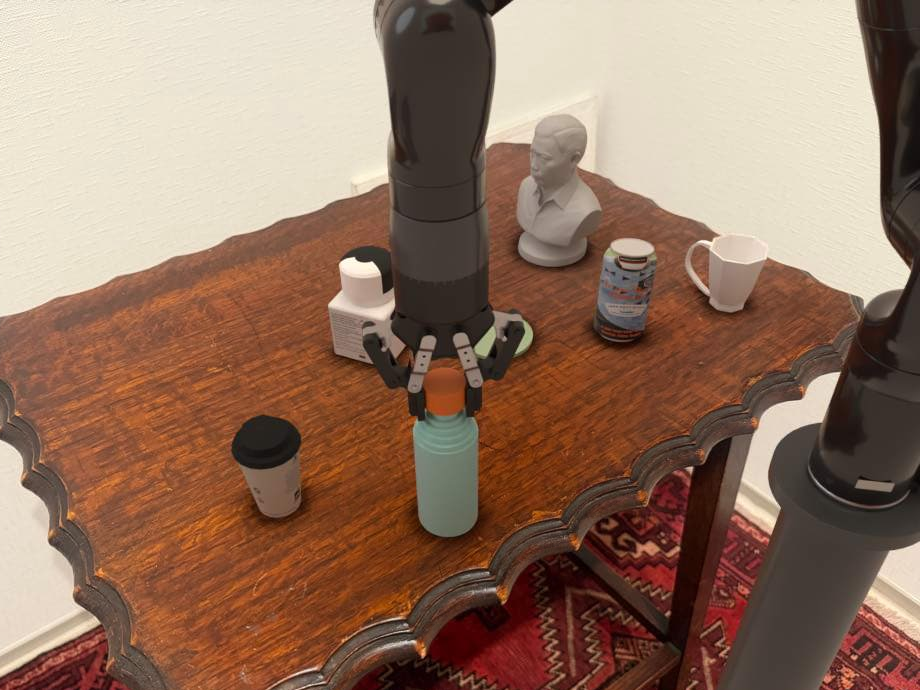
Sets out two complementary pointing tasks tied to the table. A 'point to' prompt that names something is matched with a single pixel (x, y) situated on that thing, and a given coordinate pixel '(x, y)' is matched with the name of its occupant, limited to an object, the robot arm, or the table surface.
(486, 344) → the coaster
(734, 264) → the cup
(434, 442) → the bottle
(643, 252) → the beverage can
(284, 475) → the coffee cup
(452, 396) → the cap
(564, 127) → the figurine
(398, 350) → the container
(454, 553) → the table surface
